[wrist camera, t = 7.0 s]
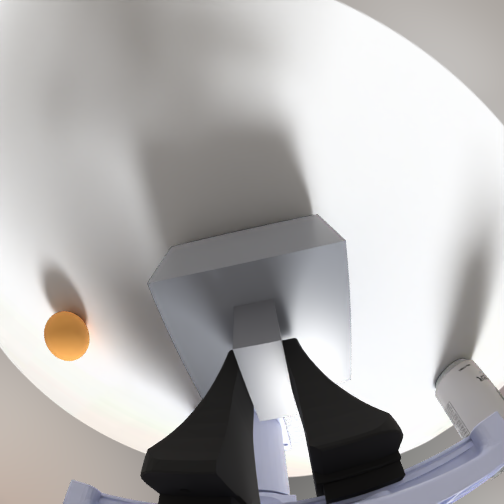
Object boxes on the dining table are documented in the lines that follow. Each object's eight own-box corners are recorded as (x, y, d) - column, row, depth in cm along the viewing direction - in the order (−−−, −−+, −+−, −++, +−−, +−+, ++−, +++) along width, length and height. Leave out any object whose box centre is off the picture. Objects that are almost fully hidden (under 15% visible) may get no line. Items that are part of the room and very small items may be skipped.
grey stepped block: (331, 332, 19) (365, 416, 12) (212, 356, 20) (202, 445, 12) (317, 214, 16) (374, 268, 9) (171, 246, 17) (124, 320, 9)
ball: (104, 351, 18) (66, 377, 15) (88, 337, 21) (54, 359, 18) (82, 308, 17) (40, 333, 14) (68, 299, 20) (32, 320, 17)
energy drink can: (473, 367, 24) (531, 445, 9) (437, 399, 25) (487, 484, 11) (466, 346, 22) (538, 435, 8) (426, 382, 23) (485, 482, 9)
